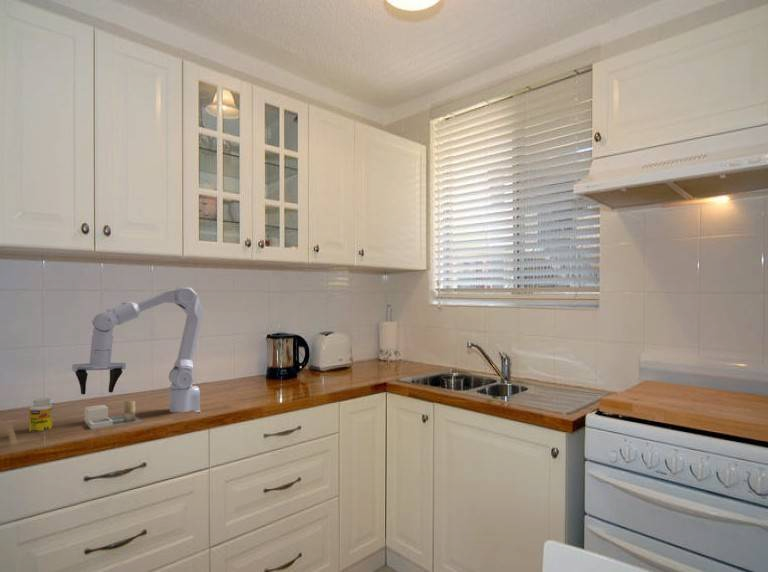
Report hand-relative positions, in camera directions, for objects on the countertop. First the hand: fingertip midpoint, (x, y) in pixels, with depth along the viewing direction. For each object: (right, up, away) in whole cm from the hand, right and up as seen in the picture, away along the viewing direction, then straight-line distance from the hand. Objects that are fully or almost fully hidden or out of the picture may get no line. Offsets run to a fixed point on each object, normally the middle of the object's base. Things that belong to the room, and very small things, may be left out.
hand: (97, 393), depth 145 cm
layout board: (+5, -10, 0) cm, 11 cm away
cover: (0, -9, 0) cm, 9 cm away
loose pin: (+10, -9, 0) cm, 14 cm away
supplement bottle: (-12, -10, -8) cm, 18 cm away
